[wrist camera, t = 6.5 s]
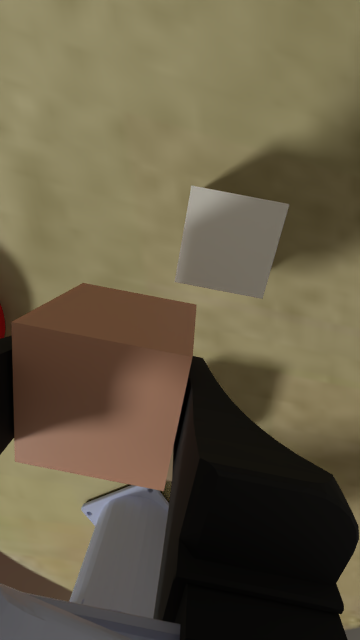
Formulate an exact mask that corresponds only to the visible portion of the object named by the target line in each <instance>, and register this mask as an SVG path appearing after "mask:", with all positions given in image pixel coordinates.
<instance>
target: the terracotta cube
mask: <svg viewBox="0 0 360 640" xmlns="http://www.w3.org/2000/svg"><path fill="white" fill-rule="evenodd" d="M195 317H196V305H195V304H190V303H185V302H180V301H174V300H169V299H164V298H159V297H154V296H148V295H143V294H138V293H133V292H127V291H122V290H117V289H112V288H107V287H101V286H96V285H91V284H86V283H82V284H80V285H79V286H77V287H75V288H73V289H71V290H69V291H68V292H66V293H64V294H62V295H60V296H58V297H56V298H55V299H53V300H51V301H49V302H47V303H45V304H44V305H42V306H40V307H38V308H36V309H34V310H32V311H31V312H29V313H27V314H25V315H23V316H21V317H19V318H18V319H16V320H14V321H12V322H11V325H12V364H13V402H14V441H15V462H19V463H24V464H29V465H34V466H39V467H44V468H50V469H55V470H60V471H65V472H70V473H75V474H80V475H85V476H90V477H95V478H100V479H105V480H110V481H115V482H120V483H125V484H130V485H135V486H140V487H145V488H150V489H155V490H160V491H164V488H165V483H166V478H167V474H168V469H169V464H170V460H171V455H172V450H173V446H174V441H175V436H176V432H177V427H178V422H179V418H180V413H181V408H182V404H183V399H184V394H185V390H186V385H187V380H188V376H189V371H190V366H191V362H192V357H193V344H194V330H195Z"/></svg>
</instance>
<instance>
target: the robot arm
mask: <svg viewBox="0 0 360 640" xmlns="http://www.w3.org/2000/svg"><path fill="white" fill-rule="evenodd" d="M13 438H14V402H13V364H12V336H9V337H5V338H1V339H0V454H1V453H2V452H3V451H4V449H5V448H6V447H7V445H8V444H9V443H10V442H11V441H12V439H13ZM81 510H82V511H83V513H84V514H85V515H86V516H87V517H88V518H89V519H90V521H91V522H92V523H93V524H94V525H95V529H94V532H93V535H92V538H91V541H90V543H89V546H88V549H87V552H86V555H85V558H84V561H83V564H82V566H81V569H80V572H79V575H78V578H77V581H76V584H75V587H74V589H73V592H72V595H71V598H70V601H69V602H68V601H63V600H59V599H53V598H48V597H44V596H39V595H34V594H29V593H24V592H21V591H18V590H16V589H14V588H11V587H8V586H6V585H3V584H1V583H0V640H347V637H346V634H345V631H344V628H343V625H342V622H341V619H340V617H339V614H342V612H343V611H344V605H343V601H342V598H341V596H340V593H339V590H338V587H337V585H336V582H337V581H338V579H339V577H340V575H341V574H342V572H343V570H344V569H345V567H346V565H347V563H348V562H349V560H350V558H351V556H352V555H353V553H354V551H355V548H356V545H357V543H358V540H359V530H358V524H357V522H356V520H355V517H354V515H353V513H352V511H351V509H350V507H349V505H348V503H347V501H346V499H345V497H344V495H343V493H342V491H341V489H340V487H339V485H338V484H337V482H336V480H335V479H334V477H333V475H332V474H330V473H328V472H327V471H325V470H323V469H321V468H320V467H318V466H316V465H314V464H313V463H311V462H309V461H307V460H306V459H304V458H302V457H301V456H299V455H297V454H296V453H294V452H293V451H291V450H290V449H288V448H287V447H285V446H284V445H282V444H281V443H279V442H278V441H276V440H275V439H274V438H272V437H271V436H270V435H268V434H267V433H266V432H265V431H263V430H262V429H261V428H260V427H259V426H257V425H256V424H255V423H254V422H253V421H251V420H250V419H249V418H248V417H247V416H246V415H245V414H244V413H243V412H242V411H241V410H240V409H239V408H238V407H237V406H236V405H235V404H234V403H233V402H232V400H231V399H230V398H229V397H228V396H227V394H226V393H225V392H224V391H223V389H222V388H221V387H220V385H219V384H218V382H217V381H216V379H215V378H214V376H213V375H212V373H211V371H210V370H209V368H208V366H207V364H206V363H205V361H204V359H203V358H200V357H195V356H193V357H192V362H191V366H190V371H189V376H188V380H187V385H186V390H185V394H184V399H183V404H182V408H181V413H180V418H179V422H178V427H177V432H176V436H175V441H174V446H173V472H172V486H171V494H170V501H169V503H168V501H167V500H166V499H165V497H164V496H163V495H162V494H161V492H160V491H159V490H155V489H150V488H145V487H140V486H135V485H131V486H128V487H125V488H123V489H120V490H118V491H115V492H113V493H110V494H107V495H105V496H102V497H100V498H97V499H94V500H92V501H89V502H87V503H84V504H83V506H82V508H81Z"/></svg>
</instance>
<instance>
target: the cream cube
mask: <svg viewBox="0 0 360 640" xmlns="http://www.w3.org/2000/svg"><path fill="white" fill-rule="evenodd" d="M288 208H289V204H287V203H281V202H276V201H271V200H265V199H260V198H255V197H249V196H244V195H239V194H234V193H228V192H223V191H218V190H212V189H207V188H202V187H196V186H191V192H190V197H189V203H188V209H187V214H186V220H185V226H184V232H183V237H182V243H181V249H180V255H179V260H178V266H177V272H176V277H175V282H178V283H183V284H188V285H194V286H199V287H204V288H209V289H214V290H220V291H225V292H230V293H235V294H240V295H246V296H251V297H256V298H261V299H262V298H263V295H264V291H265V288H266V284H267V281H268V277H269V274H270V270H271V267H272V263H273V260H274V256H275V253H276V249H277V246H278V242H279V239H280V236H281V232H282V229H283V225H284V222H285V218H286V215H287V211H288Z"/></svg>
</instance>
